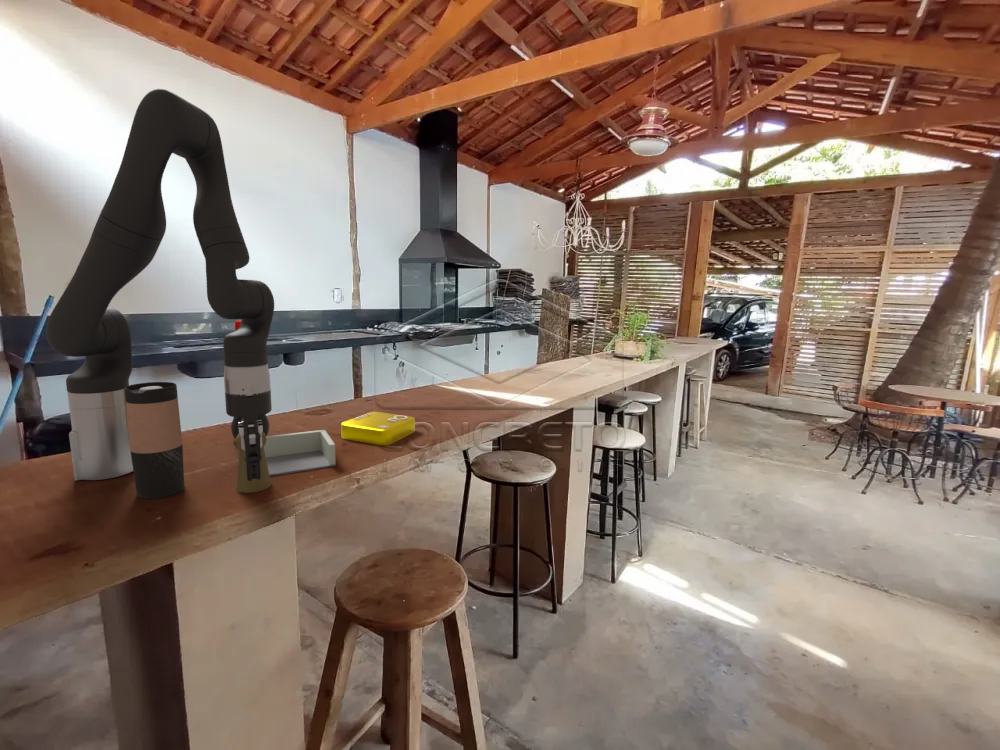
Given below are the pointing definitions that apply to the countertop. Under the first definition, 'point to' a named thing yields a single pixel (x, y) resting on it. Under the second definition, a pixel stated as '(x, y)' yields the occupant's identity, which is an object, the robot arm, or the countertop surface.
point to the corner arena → (299, 452)
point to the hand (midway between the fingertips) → (253, 475)
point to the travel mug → (155, 439)
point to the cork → (242, 481)
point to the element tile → (378, 428)
